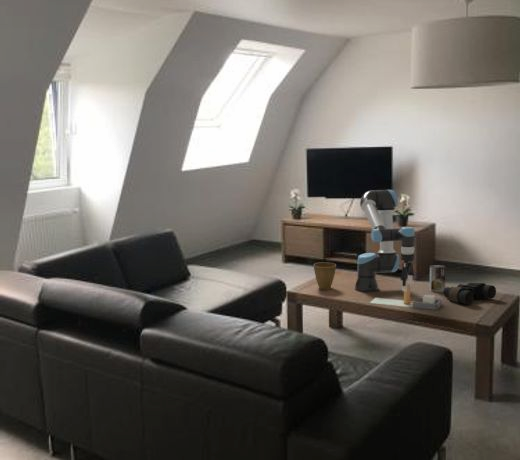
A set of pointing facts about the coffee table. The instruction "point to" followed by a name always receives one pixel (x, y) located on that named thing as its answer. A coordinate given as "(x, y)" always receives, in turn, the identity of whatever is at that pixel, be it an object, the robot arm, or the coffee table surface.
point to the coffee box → (437, 278)
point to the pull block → (426, 298)
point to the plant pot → (324, 274)
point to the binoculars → (469, 292)
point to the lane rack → (414, 304)
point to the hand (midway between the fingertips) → (407, 288)
